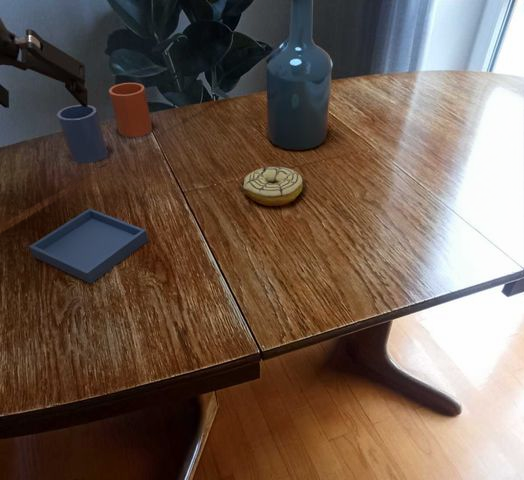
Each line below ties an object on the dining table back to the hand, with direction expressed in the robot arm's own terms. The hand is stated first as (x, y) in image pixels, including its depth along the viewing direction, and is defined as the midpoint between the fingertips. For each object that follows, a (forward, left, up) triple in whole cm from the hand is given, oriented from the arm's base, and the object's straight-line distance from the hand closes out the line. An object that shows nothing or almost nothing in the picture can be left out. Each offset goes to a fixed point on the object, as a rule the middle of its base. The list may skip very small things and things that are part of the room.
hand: (46, 99), depth 78 cm
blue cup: (-5, +9, -16) cm, 19 cm away
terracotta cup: (-5, +23, -16) cm, 29 cm away
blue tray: (+18, -13, -16) cm, 27 cm away
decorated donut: (+35, +17, -16) cm, 42 cm away
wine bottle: (+27, +40, -16) cm, 51 cm away
